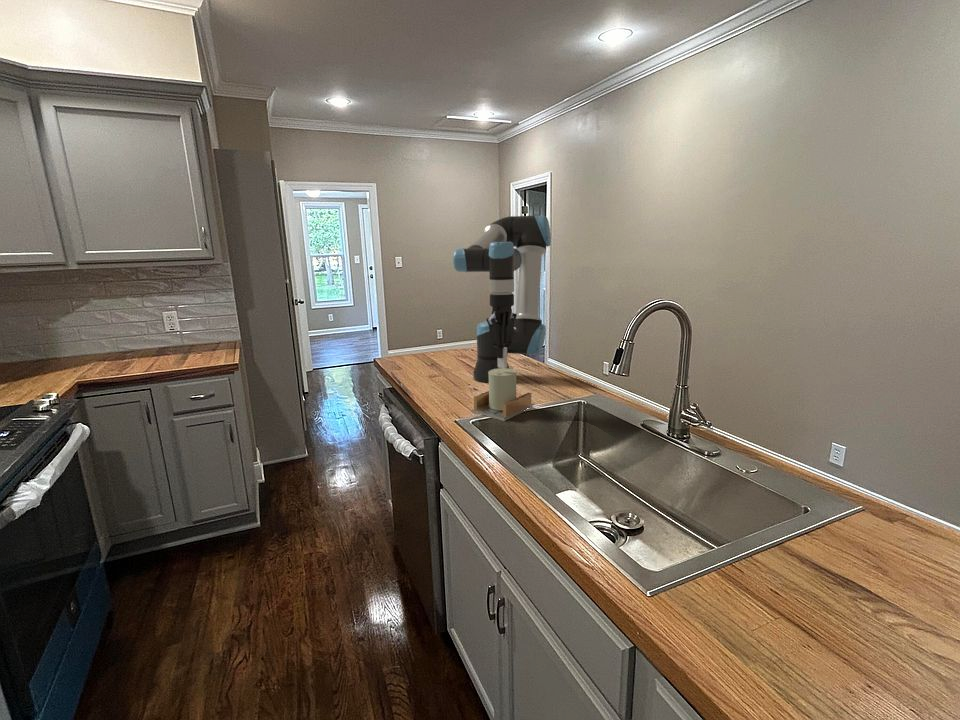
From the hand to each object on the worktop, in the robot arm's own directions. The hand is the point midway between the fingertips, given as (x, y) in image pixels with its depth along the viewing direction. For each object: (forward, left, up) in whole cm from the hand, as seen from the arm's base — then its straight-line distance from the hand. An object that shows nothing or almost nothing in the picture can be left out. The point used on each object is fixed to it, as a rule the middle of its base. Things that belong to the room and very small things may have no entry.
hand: (502, 367), depth 152 cm
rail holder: (0, 0, -14) cm, 14 cm away
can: (0, 0, -13) cm, 13 cm away
